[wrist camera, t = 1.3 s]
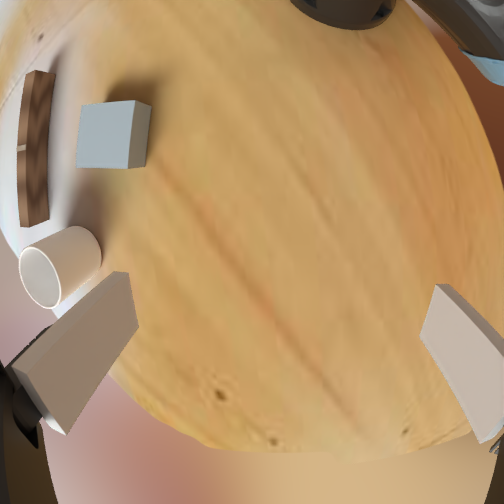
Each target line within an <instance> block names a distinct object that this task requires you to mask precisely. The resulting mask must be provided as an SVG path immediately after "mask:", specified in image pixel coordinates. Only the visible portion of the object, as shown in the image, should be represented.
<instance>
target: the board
mask: <svg viewBox="0 0 504 504" xmlns="http://www.w3.org/2000/svg"><path fill="white" fill-rule="evenodd" d="M54 81H55V74H51V73H47V72H43V71H38V70H34V71H32V72H30V73H28V74H26V77H25V82H24V88H23V94H22V101H21V108H20V117H19V128H18V142H17V193H18V208H19V219H20V227H32V226H34V225H37V224H39V223H42V222H44V221H47V220H49V209H48V191H47V148H48V130H49V119H50V109H51V101H52V94H53V87H54Z"/></svg>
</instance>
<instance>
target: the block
mask: <svg viewBox="0 0 504 504" xmlns="http://www.w3.org/2000/svg"><path fill="white" fill-rule="evenodd" d="M151 109H152V106H149V105H147V104H144V103H141V102H139V101H136V100H130V101H117V102H106V103H97V104H89V105H82V107H81V114H80V122H79V131H78V141H77V153H76V168H120V169H130V168H139V167H145V161H146V150H147V140H148V132H149V123H150V116H151Z"/></svg>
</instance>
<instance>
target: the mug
mask: <svg viewBox="0 0 504 504" xmlns="http://www.w3.org/2000/svg"><path fill="white" fill-rule="evenodd" d="M100 265H101V250H100V247H99V244H98V242H97V240H96V238H95V237H94V235H93V234H92V233H91V232H90V231H89V230H87V229H85V228H83V227H81V226H72V227H68V228H66V229H64V230H61V231H59V232H57V233H55V234H53V235H50V236H48V237H46V238H44V239H42V240H40V241H38V242H36V243H34V244H32V245H29V246H27V247H26V248H24V249H23V251H22V252H21V254H20V258H19V272H20V277H21V280H22V282H23V285H24V287H25V289H26V290H27V292H28V294H29V295H30V297H31V298H32V299H33V300H34V301H35V302H36V303H37V304H39V305H40V306H42V307H44V308H48V309H52V308H55V307H56V306H58V305H59V304H60V303H61V302H62V301H64V300H65V299H66V298H67V297H69V296H70V295H71V294H72V293H74V292H75V291H76V290H77V289H79V288H80V287H81V286H82V285H84V284H85V283H86V282H87V281H89V280H90V279H91V278H93V277H94V276H95V275H96V273H97V272H98V271H99V268H100Z"/></svg>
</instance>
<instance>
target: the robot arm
mask: <svg viewBox="0 0 504 504" xmlns="http://www.w3.org/2000/svg"><path fill="white" fill-rule="evenodd" d="M290 1H291V2H292V3H293V4H294V5H295V6H296V7H297V8H298V9H299V10H300V11H302V12H303V13H305V14H306V15H308V16H309V17H311V18H313V19H315V20H317V21H319V22H321V23H324V24H327V25H330V26H333V27H337V28H341V29H348V30H365V29H370V28H373V27H376V26H378V25H380V24H381V23H383V22H384V21H385V20H386V19H387V18H388V16H389V15H390V14H391V13H392V11H393V9H394V7H395V1H396V0H290ZM412 1H413V2H414V3H416V4H417V5H418V6H419V7H420V8H422V10H424V11H425V12H426V13H427V14H428V15H429V16H430V17H431V18H432V19H433V20H434V21H435V22H436V23H437V24H438V25H439V26H440V27H441V28H442V29H443V30H444V31H445V32H446V33H447V34H448V35H449V36H450V37H451V38H452V39H453V41H455V43H456V44H457V45H458V48H459V49H460V51H461V52H462V53H463V54H465V55H466V56H468V58H469V59H470V60H471V61H472V62H473V63H474V65H475V66H476V67H477V68H478V69H479V70H480V71H481V73H482V74H483V75H484V76H485V77H486V78H487V79H488V80H490V81H491V82H493V83H495V84H498V85H502V86H504V0H412ZM138 328H139V325H138V320H137V316H136V311H135V306H134V301H133V296H132V290H131V285H130V279H129V273H127V272H115V271H114V272H113V273H111V274H110V275H109V276H108V277H106V278H105V279H104V280H103V281H102V282H101V283H99V284H98V285H97V286H96V287H95V288H93V289H92V290H91V291H90V292H89V293H88V294H86V295H85V296H84V297H83V298H82V299H81V300H80V301H78V302H77V303H76V304H75V305H74V306H73V307H72V308H71V309H69V310H68V311H67V312H66V313H65V314H64V315H63V316H62V317H61V318H60V319H59V320H57V321H56V322H55V323H54V324H52V325H51V326H49V327H47V328H45V329H44V330H43V331H41V332H40V333H39V334H38V335H37V336H36V339H33V340H32V341H31V342H30V343H29V345H27V346H26V347H25V348H24V349H23V350H22V351H21V352H20V353H19V354H18V355H17V356H16V357H15V358H14V359H13V360H12V361H11V362H10V363H9V364H8V365H7V366H6V367H5V368H4V366H3V365H2V363H1V361H0V504H58V501H57V498H56V495H55V491H54V487H53V483H52V479H51V475H50V471H49V466H48V461H47V456H46V451H45V444H44V438H43V430H42V427H41V424H40V423H39V420H40V419H41V418H42V417H43V418H44V419H45V421H46V422H47V424H48V425H49V426H50V428H52V429H54V430H56V431H58V432H60V433H62V434H64V435H67V434H68V433H69V431H70V429H71V428H72V426H73V424H74V423H75V421H76V420H77V418H78V416H79V415H80V413H81V412H82V410H83V409H84V407H85V405H86V404H87V402H88V401H89V399H90V398H91V396H92V395H93V393H94V391H95V390H96V389H97V387H98V385H99V384H100V382H101V381H102V379H103V378H104V376H105V375H106V374H107V372H108V371H109V369H110V368H111V366H112V365H113V363H114V362H115V360H116V359H117V357H118V356H119V355H120V353H121V352H122V350H123V349H124V347H125V346H126V345H127V343H128V342H129V340H130V339H131V337H132V336H133V335H134V333H135V332H136V330H137V329H138ZM419 337H420V339H421V340H422V342H423V343H424V345H425V346H426V348H427V350H428V351H429V353H430V354H431V356H432V358H433V359H434V361H435V362H436V364H437V366H438V367H439V369H440V371H441V372H442V374H443V376H444V377H445V379H446V381H447V382H448V384H449V386H450V388H451V389H452V391H453V393H454V395H455V397H456V398H457V400H458V402H459V404H460V406H461V408H462V409H463V411H464V413H465V415H466V417H467V419H468V421H469V423H470V425H471V427H472V429H473V431H474V433H475V435H476V437H477V439H478V441H479V443H480V444H481V443H483V442H485V441H487V440H489V439H492V438H494V436H495V435H496V434H497V433H498V432H499V431H500V430H501V428H502V427H503V426H504V339H503V338H502V337H501V336H500V334H499V333H498V332H497V331H496V330H495V329H494V328H493V327H492V326H491V325H490V324H489V323H488V322H487V321H486V320H485V319H484V318H483V317H482V316H481V315H480V314H479V313H478V312H477V311H476V310H475V309H474V308H473V307H472V306H471V305H470V304H469V303H468V302H467V301H466V300H465V299H464V298H463V297H462V296H461V295H460V294H459V293H458V292H457V291H455V290H454V289H453V288H452V287H451V286H450V285H449V284H436V285H435V288H434V292H433V295H432V299H431V302H430V306H429V309H428V312H427V315H426V318H425V321H424V324H423V327H422V330H421V332H420V335H419ZM498 445H500V446H499V448H498V449H497V450H496V451H495V454H498V456H497V461H496V465H495V470H494V473H493V477H492V481H491V484H490V488H489V491H488V494H487V497H486V500H485V503H484V504H504V434H503V435H502V436H501V437H500V438H499V439H498V441H496V443H495V444H494V445H493V446H492V447H491V449H490V451H489V452H492V451H493V450H494V449H495V448H496V447H497V446H498Z"/></svg>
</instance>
